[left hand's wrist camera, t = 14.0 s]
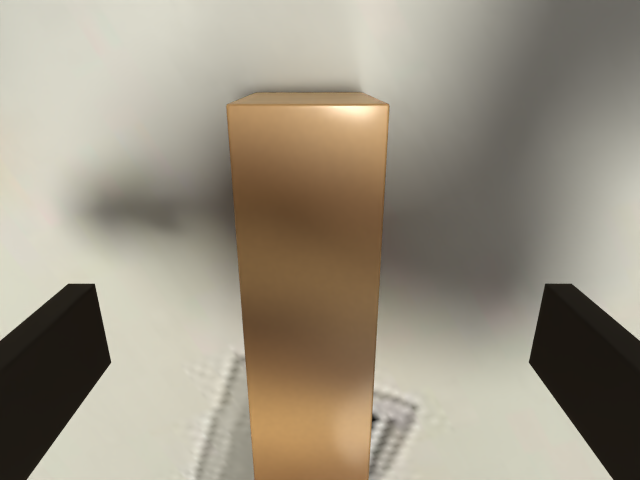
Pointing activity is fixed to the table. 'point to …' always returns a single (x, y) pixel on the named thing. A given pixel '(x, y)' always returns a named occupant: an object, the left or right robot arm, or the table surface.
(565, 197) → the table surface
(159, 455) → the table surface
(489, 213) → the table surface
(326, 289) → the bar
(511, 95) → the table surface
